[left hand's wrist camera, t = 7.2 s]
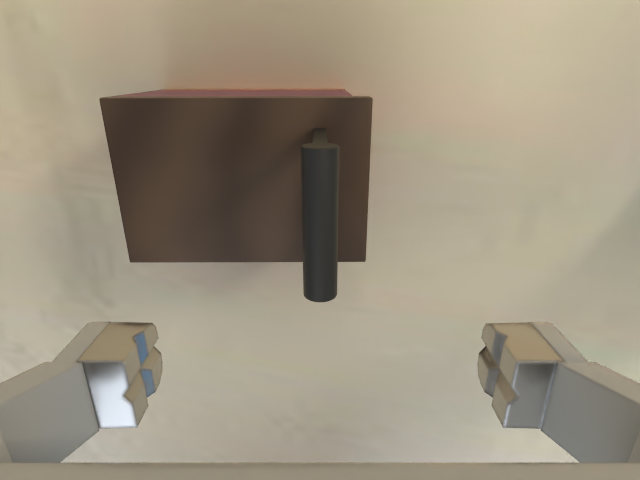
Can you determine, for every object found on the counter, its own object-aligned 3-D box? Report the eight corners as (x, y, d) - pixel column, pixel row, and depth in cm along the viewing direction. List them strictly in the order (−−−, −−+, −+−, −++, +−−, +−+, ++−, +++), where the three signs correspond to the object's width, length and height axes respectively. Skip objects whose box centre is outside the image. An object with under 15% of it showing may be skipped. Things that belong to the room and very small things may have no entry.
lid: (370, 96, 24) (396, 109, 16) (363, 254, 28) (382, 329, 20) (109, 96, 24) (3, 110, 16) (137, 254, 28) (63, 330, 20)
